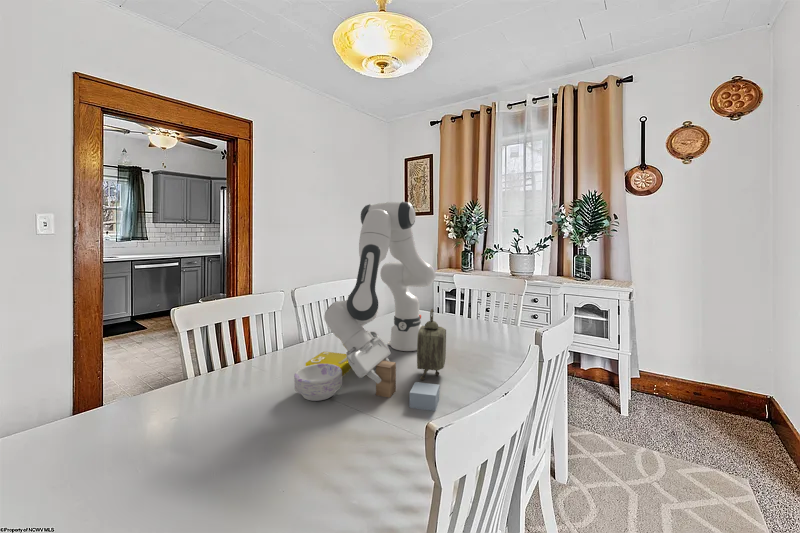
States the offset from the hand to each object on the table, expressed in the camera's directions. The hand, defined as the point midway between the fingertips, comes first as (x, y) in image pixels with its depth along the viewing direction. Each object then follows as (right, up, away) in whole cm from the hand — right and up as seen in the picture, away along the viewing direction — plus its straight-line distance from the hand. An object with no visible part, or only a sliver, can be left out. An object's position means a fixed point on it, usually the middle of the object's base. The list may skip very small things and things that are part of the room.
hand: (386, 376), depth 122 cm
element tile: (-22, -4, +22) cm, 31 cm away
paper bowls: (-22, -6, -1) cm, 23 cm away
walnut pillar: (0, -6, +1) cm, 6 cm away
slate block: (+12, -7, -6) cm, 15 cm away
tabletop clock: (+16, -5, +16) cm, 23 cm away
